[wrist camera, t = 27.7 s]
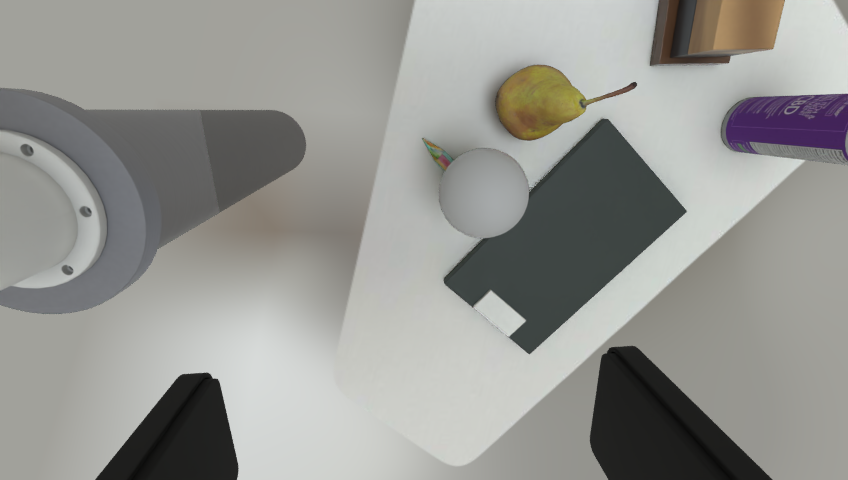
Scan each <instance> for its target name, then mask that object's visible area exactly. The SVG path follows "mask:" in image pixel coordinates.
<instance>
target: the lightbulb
mask: <svg viewBox="0 0 848 480" xmlns="http://www.w3.org/2000/svg"><path fill="white" fill-rule="evenodd" d="M528 199H529V185H528V180H527V177H526V175H525V173H524V171H523V169H522V168H521V166H520V165H519V163H518V162H517V161H516V160H515V159H513V158H512V157H511V156H509V155H508V154H506V153H504V152H501V151H499V150H496V149H490V148H479V149H474V150H471V151H468V152H466V153H464V154H462V155H460V156H459V157H457V158H456V159H455V160H454V161H453V162H452V163H451V164H450V165H449V166H448V167H447V169H446V171H445V172H444V174H443V176H442V179H441V182H440V186H439V202H440V206H441V210H442V212H443V214H444V216H445V218H446V219H447V220H448V222H449V223H450V224H451V225H452V226H453V227H454V228H455V229H457V230H458V231H460V232H462V233H464V234H466V235H468V236H471V237H475V238H491V237H495V236H498V235H501V234H503V233H505V232H507V231H509V230H510V229H511V228H513V227H514V226H515V225H516V224H517V223H518V222H519V221H520V219H521V218H522V216H523V214H524V212H525V210H526V208H527V204H528Z"/></svg>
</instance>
